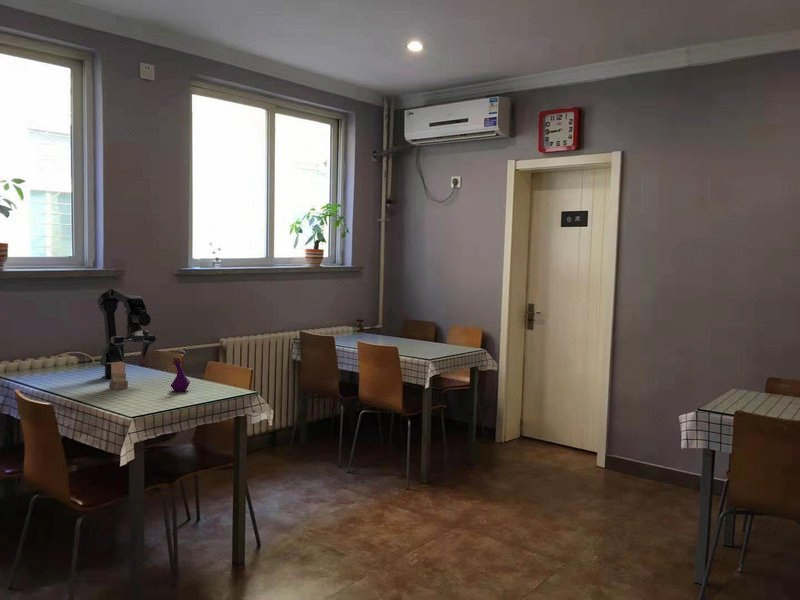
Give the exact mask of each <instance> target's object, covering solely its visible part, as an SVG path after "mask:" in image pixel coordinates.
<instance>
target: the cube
mask: <svg viewBox="0 0 800 600" xmlns="http://www.w3.org/2000/svg"><path fill="white" fill-rule="evenodd" d="M111 373H113V374H123V373H126V362H124V361H122V362H114V363H111Z"/></svg>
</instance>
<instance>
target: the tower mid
mask: <svg viewBox="0 0 800 600" xmlns="http://www.w3.org/2000/svg"><path fill="white" fill-rule="evenodd" d="M110 381H113V382H123V381H127V372H125V373H123V374H113V373H111V378H110Z"/></svg>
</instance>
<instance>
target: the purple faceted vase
mask: <svg viewBox="0 0 800 600" xmlns="http://www.w3.org/2000/svg"><path fill="white" fill-rule="evenodd" d="M180 352H183V353H184V354H185V355H187V354H186V351H185V350H183V349H182V350H180V351H178V352H177V354H176V356H174V357H173V361H172V364H174V366H175V368H176V375H175V378H174V379H173V381H172V383H171V384H170V387H171V389H172V390H173V391H174V392H175V393H186V391H187V389H188V388H189V387H190V384H191V380H189V378H187V376H186V374H185V373H184V372H183V368H182V366H181V365H182V360H181V357H179V356H178V355H179V353H180Z"/></svg>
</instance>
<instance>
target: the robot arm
mask: <svg viewBox="0 0 800 600" xmlns="http://www.w3.org/2000/svg"><path fill="white" fill-rule="evenodd" d="M120 302H121V303H122V304H123V305H122V306H123V307H124V308H125V309H126V310H125V311H124V313H125V314H126V325H125V328H126V335H125V336H124V337H123V336H121V335H117V326H116V324H117V323H116V315H115V314H116V311H117V309H118V304H119V303H120ZM97 304H98V309H99V310H100V312H101V313H102V314H103V321H104V322H103V323H104V333H105V347H103V348H104V349H103V350H102V352H103V354H102V356H101V357H100V359H99V365H100V366H103V367H104V375H102V378H103V379H106V380H108V379H111V363H114V362H124V361H123V360H124V358H125V352H124V351H125V350H124V347H125V344H124V342H134V343H137V342H140V343H141V342H142V357H143V358H145V357H146V353H147V351H148V348H149V347H150V345H151V344H154V342H156V341H157V336H156V335H154V334H151V333H150V334H149V330H142V326H143V327H147V326H149V324H150V323H151V320H152V319H151V316H150V315H149V314H148V313H147V312H148V311H147V306H146V304H145V302H144V300H143V298H142V296H140V295H134V294H133V295H132V294H129V293H128V292H125V290H124V291H123V290H122V289H121V288H119V287H113V288H108V290H106V291H105V292H103V293H101V294H100V296H98V298H97Z"/></svg>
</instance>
